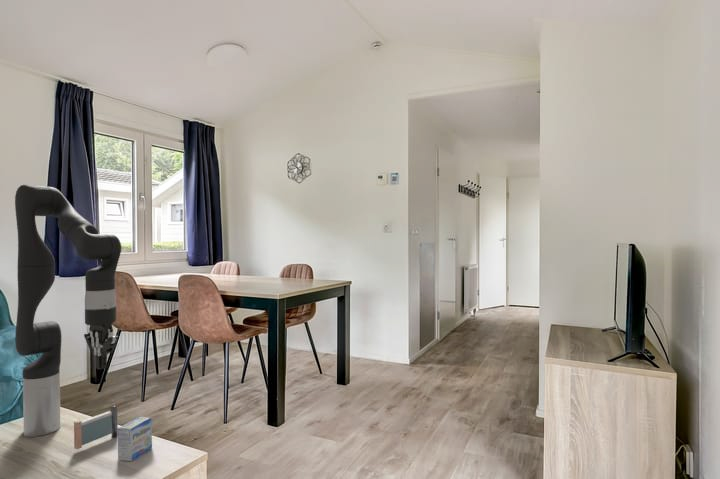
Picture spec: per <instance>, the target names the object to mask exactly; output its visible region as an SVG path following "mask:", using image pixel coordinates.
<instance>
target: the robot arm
mask: <svg viewBox="0 0 720 479" xmlns="http://www.w3.org/2000/svg"><path fill="white" fill-rule="evenodd" d="M14 206H15V208H14V209H15V210H14V211H15V218H16V229H17V301H18V302H17V312H16V313H17V314H16V324H15V337H14V340H15V342H14V343H15V349H16V351H17V354H18V355H20V356H22V357H26V356H27V357H28V356H33V355H37V354H41V356H40V357H39V358H37V359H36V360H35V361H33V362H31V363H30V364H27V365H26V366H25V367H24V368H23V370H22V400H23V401H22V402H23V404H22V406H23V407H22V409H23V435H24V436H25V437H31V438H33V437H40V436H46V435H48V434H52V433H54V432H56V431H58V430H59V429H60V428H61V381H60V380H61V379H60V377H61V376H60V367H61V360H62V358H61V356H62V330H61V327H60V324H59V323H58V322H57V321H54V320H53V321H51V320H48V321H41V322H35V323H34V320H35V317H36V312H37V310H38V307H39V305H40V304H41V302H42V300H43V299H44V298H45V297H46V295H47V293H48V292H49V291H50V290H51V288H52V286H53V284H54V282H55V279H56V260H55V256H54V254H53V252H52V251H51V250H50V248H49V247H48V245H47V244H46V243H45V242H44V240H43V238H42V237H41V235H40V234H39V232H38V228H37V224H36V223H37V222H36V217H54V218H57V219H58V220H57V227H58V229H59V231H60V233H61V234H62V235H63V236H64V237H65V238H66V239H67V240H69V241H70V242H71V243H72V245H73V246H74V249H75V251H76V253H77V254H78V256H79V257H80V258H82V259H84V260H89V261H98V260H100V263H99V265H98V266H97V267H93V268H90V269H88V270H87V271H86V272H85V276H84V277H85V279H84V280H85V292H84V293H85V294H84V324H85V325H86V326H89V328H88V329H89V330H88V332H86V333H84V335H83V337H84V339H85V342H86V343H87V346H88V349H89V351H90V352H91V353H93V355H94V356H95V369H97V370H103V369H106V368H107V367H108V355H109V354H110V353H111V354H112V353H113V352H114V349H115V348H116V345H117V344H118V341H119V335H114V328H113V324H114V323H115V322H116V321H117V295H116V283H115V282H116V280H115V279H116V278H115V276H116V272H117V267H118V263H119V260H120V256H121V253H122V243H121V240H120V239H119V238H118V236H117V235H115V234H110V233H109V234H107V233H106V234H105V233H104V234H103V233H98V229H97V228H96V227H95V226H94V224H92V223H91V222H90V221H89V220H87V219H86V218H84V217H83V216H82V215H80V213H78V211H76V209H75V208H74V207H73V205H72V204H71V203H70V201H69V200H68V199H67V198H66V197H65V196H64V194H63V193H62V192H61V191H60V189H57V188H56V187H53V186H46V185H32V184H22V185H19V187H17V189H16V192H15V196H14Z"/></svg>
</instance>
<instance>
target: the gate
mask: <svg viewBox="0 0 720 479" xmlns="http://www.w3.org/2000/svg"><path fill="white" fill-rule="evenodd" d="M109 435H112V412H111V410H108V411H106V412H103V413H100V414H97V415H95V416H92V417H89V418H86V419H83V420H81V419H80V420H79V419H77V420H75V421H73V437H74V438H73V443H74V444H73V445H74V447H73V448H74V449H75V450H80V449H81V448H82V447H83V446H84V445H86V444H90V443H92V442H94V441H97V440H99V439H102V438H104V437H107V436H109ZM82 449H83V448H82Z"/></svg>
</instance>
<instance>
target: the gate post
mask: <svg viewBox="0 0 720 479" xmlns="http://www.w3.org/2000/svg"><path fill="white" fill-rule="evenodd" d="M110 412H112V434H111V438H112V439H113V438H114V439H115V438H117V428H119V427H118V425H119V424H118V422H119V421H118V405H111V407H110Z"/></svg>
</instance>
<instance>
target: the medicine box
mask: <svg viewBox="0 0 720 479" xmlns="http://www.w3.org/2000/svg"><path fill="white" fill-rule="evenodd" d="M152 420H153V419H152V418H151V417H147V416H138V417H136V418H135V419H132V420H130V421H129V422H127V423H125V424H123V425H121V426H120V427H118V428H117V437H116V438H117V460H119V461H124V462H133V461H134V460H137V459H138V458H139V457H141V456H142V455H143V454H145V453H146V452H148V451H150V450H151V449H153V434H152V432H153V431H152V430H153V428H152Z"/></svg>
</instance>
